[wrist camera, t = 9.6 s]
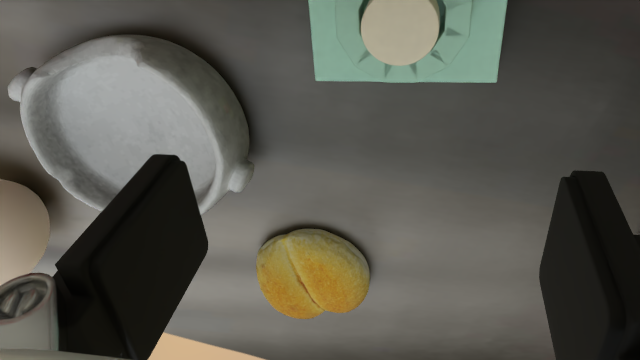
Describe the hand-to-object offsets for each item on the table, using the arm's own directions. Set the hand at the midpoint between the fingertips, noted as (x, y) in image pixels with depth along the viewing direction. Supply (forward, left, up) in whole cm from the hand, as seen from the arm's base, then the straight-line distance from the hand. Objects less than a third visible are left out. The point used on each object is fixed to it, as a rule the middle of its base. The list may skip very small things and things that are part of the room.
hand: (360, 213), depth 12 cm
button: (0, 0, -15) cm, 15 cm away
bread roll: (+21, -7, -19) cm, 29 cm away
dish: (+8, -17, -19) cm, 27 cm away
